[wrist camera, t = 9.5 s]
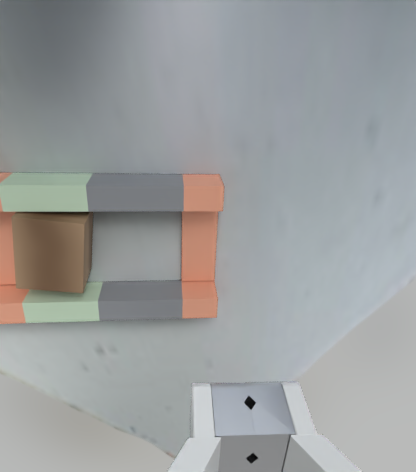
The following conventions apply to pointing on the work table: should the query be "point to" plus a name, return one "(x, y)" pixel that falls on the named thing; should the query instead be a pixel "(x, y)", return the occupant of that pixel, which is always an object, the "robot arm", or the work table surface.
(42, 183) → the multicolored rectangular frame
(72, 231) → the walnut block
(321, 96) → the work table surface
